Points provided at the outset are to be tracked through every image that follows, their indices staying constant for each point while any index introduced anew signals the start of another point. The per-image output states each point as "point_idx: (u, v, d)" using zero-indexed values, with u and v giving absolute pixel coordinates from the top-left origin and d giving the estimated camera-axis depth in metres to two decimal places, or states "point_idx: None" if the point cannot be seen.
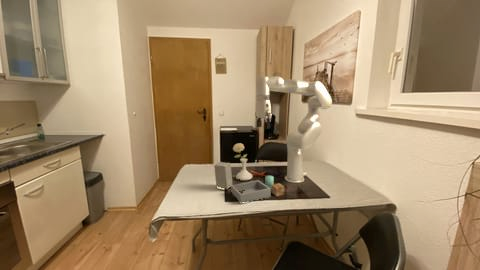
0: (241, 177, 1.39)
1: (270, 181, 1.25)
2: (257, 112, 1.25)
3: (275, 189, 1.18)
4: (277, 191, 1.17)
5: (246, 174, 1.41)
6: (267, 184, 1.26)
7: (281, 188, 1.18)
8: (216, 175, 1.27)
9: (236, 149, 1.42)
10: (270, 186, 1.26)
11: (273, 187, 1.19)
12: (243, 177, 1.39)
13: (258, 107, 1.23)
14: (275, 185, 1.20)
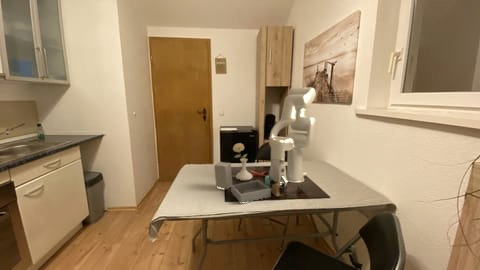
0: (241, 177, 1.39)
1: None
2: (271, 174, 1.19)
3: (275, 189, 1.18)
4: (277, 191, 1.17)
5: (246, 174, 1.41)
6: (267, 184, 1.26)
7: None
8: (216, 175, 1.27)
9: (236, 149, 1.42)
10: None
11: (273, 187, 1.19)
12: (243, 177, 1.39)
13: (272, 170, 1.17)
14: (275, 185, 1.20)
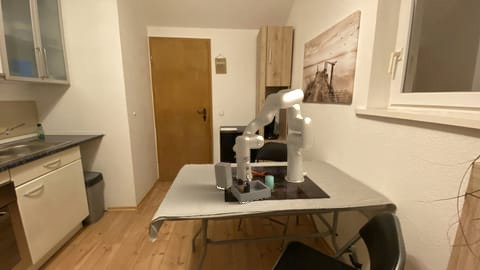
0: None
1: (270, 181, 1.25)
2: (237, 172, 1.17)
3: (240, 190, 1.14)
4: (242, 193, 1.14)
5: None
6: (267, 184, 1.26)
7: None
8: (216, 175, 1.27)
9: None
10: (270, 186, 1.26)
11: (239, 188, 1.16)
12: None
13: (238, 167, 1.15)
14: (241, 186, 1.17)
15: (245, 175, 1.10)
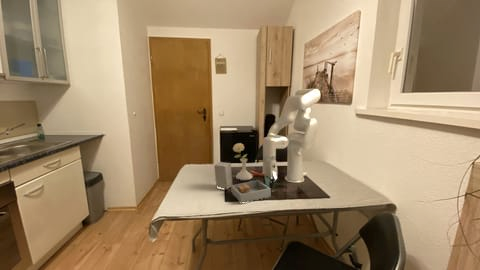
0: (241, 177, 1.39)
1: None
2: (263, 170, 1.28)
3: (240, 190, 1.14)
4: (242, 193, 1.14)
5: (246, 174, 1.41)
6: (267, 184, 1.26)
7: (247, 190, 1.15)
8: (216, 175, 1.27)
9: (236, 149, 1.42)
10: None
11: (239, 188, 1.16)
12: (243, 177, 1.39)
13: (264, 166, 1.26)
14: (241, 186, 1.17)
15: (272, 172, 1.22)
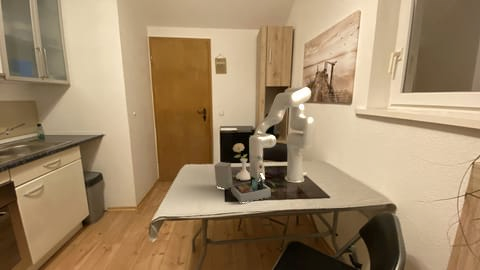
0: (241, 177, 1.39)
1: None
2: (250, 170, 1.20)
3: (240, 190, 1.14)
4: (242, 193, 1.14)
5: (246, 174, 1.41)
6: (254, 188, 1.18)
7: (247, 190, 1.15)
8: (216, 175, 1.27)
9: (236, 149, 1.42)
10: None
11: (239, 188, 1.16)
12: (243, 177, 1.39)
13: (251, 166, 1.18)
14: (241, 186, 1.17)
15: (258, 173, 1.13)
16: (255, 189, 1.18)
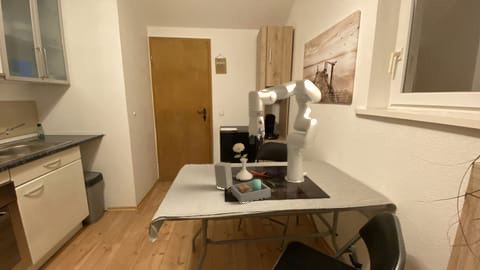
0: (241, 177, 1.39)
1: (257, 185, 1.17)
2: (250, 129, 1.16)
3: (240, 190, 1.14)
4: (242, 193, 1.14)
5: (246, 174, 1.41)
6: (254, 188, 1.18)
7: (247, 190, 1.15)
8: (216, 175, 1.27)
9: (236, 149, 1.42)
10: (257, 190, 1.18)
11: (239, 188, 1.16)
12: (243, 177, 1.39)
13: (250, 123, 1.14)
14: (241, 186, 1.17)
15: (258, 129, 1.10)
16: (255, 189, 1.18)
